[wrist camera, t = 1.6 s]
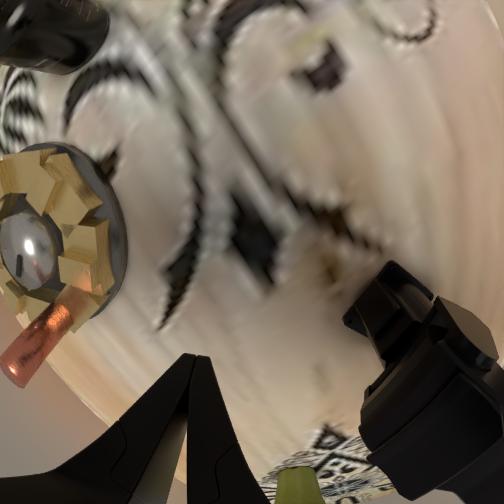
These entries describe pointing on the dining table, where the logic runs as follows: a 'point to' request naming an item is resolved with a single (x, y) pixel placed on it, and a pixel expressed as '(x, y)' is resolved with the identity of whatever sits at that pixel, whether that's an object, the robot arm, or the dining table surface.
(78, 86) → the dining table surface
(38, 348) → the handwheel
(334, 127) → the dining table surface
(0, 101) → the dining table surface
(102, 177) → the flange
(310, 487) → the plant pot
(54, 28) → the supplement bottle
